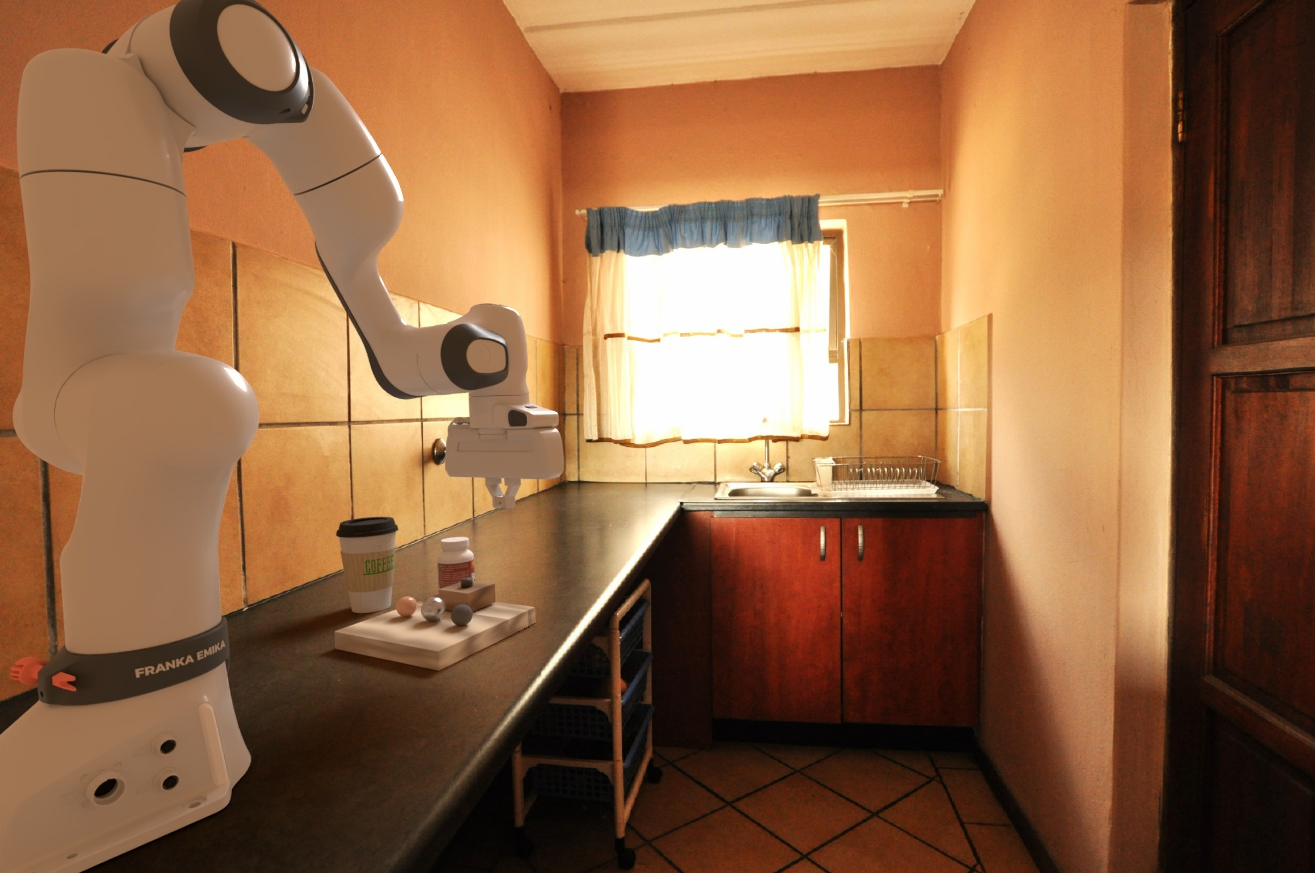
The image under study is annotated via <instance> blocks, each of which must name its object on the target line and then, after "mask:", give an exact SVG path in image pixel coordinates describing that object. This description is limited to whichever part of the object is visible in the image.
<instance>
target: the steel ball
mask: <svg viewBox="0 0 1315 873" xmlns="http://www.w3.org/2000/svg"><path fill="white" fill-rule="evenodd" d="M426 599H427V598H426ZM445 612H446V605H445V602H444V601H443V600H442V599H441V598H438V597H433V596H431V598H430V597H428V599H427V600H425V601H424V603H423V604H422V607H421V614H422V616H423V617H424V618H425V619H426V620H428V621H437V620H439V619H441V618H442V617H443V616H444V614H445Z"/></svg>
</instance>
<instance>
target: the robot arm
mask: <svg viewBox="0 0 1315 873" xmlns="http://www.w3.org/2000/svg"><path fill="white" fill-rule="evenodd" d="M16 116H17V117H16V153H17V154H16V155H17V157H16V158H17V166H18V167H17V168H18V178H19V184H20V185H19V187H20V194H21V203H22V210H23V219H24V229H25V236H26V237H25V238H26V246H27V252H28V253H27V254H28V263H29V276H30V277H29V279H30V280H29V281H30V284H29V285H30V286H29V288H30V289H29V290H30V291H29V306H28V316H27V324H26V332H25V333H26V334H25V342H24V348H23V349H24V352H23V364H22V365H23V366H22V367H23V368H22V381H21V382H22V383H21V388H20V391H19V393H18V396H17V398H16V399H15V403H14V405H13V409H12V423H13V428H14V430H15V432H16V435H17V437H18V439H19V440H20V442H21V443H22V445H23V446H25V447H26V449H27V450H28V451H29V452H31V453H32V454H33V455H35V456H37V457H38V458H39V459H41V460H42V461H44V462H46V463H48V464H49V465H51V466H53V467H55V468H58V469H59V470H62V471H64V472H67V473H70V474H74V475H79V476H82V482H81V488H80V490H81V491H80V495H79V502H78V507H77V511H76V515H75V516H76V517H75V521H74V524H73V528H72V531H71V534H70V537H69V539H68V541H67V542H66V544H65V545H64V547H63V548H62V551H61V552H60V556H59V570H60V572H59V573H60V587H61V601H62V615H63V628H64V629H63V630H64V642H65V644H64V645H63V646H62V647H61V648H60V649H59V650H58V652H57V653H56V654H55V655H54V656H52V657H51V659H49V661H46V660H44V659H40V658H38V657H35V656H26V657H22V658H20V659H18V660H17V661H16V662H14V666H11V667H10V670H11V671H10V672H9V675H10V676H11V677H10V678H11V679H12V680H13V681H15V682H17V683H22V685H26V686H33V685H37V693H38V701H37V702H36V703H34V704H33V705H32V706H31V707H30V708H29V709H28V710H27V711H25V712H24V713H23V714H22V715H21V716H20V717H19V718H18V719H16V720H15V721H14V722H13V723H12V724H11V725H10V726H8V728H6V729H5V730H4V731H3V732H2V733H1V734H0V873H81V872H83V871H86V870H88V869H90V868H92V867H94V866H97V865H99V864H101V863H105V862H106V861H109V860H110V859H113V858H115V857H118V856H120V855H123V854H125V853H127V852H129V851H131V850H134V849H136V848H138V847H140V846H143V845H145V844H148V843H149V842H152V841H154V840H157V839H159V838H161V837H163V836H166V835H168V834H170V833H172V832H175V831H177V830H179V829H182V828H184V827H186V826H188V825H190V824H194V823H195V822H197V821H200V820H202V819H204V818H207V817H209V816H211V815H213V814H216V813H218V812H219V811H221V810H223V809H224V808H225V807H226V806H228V804H229V803H230V801H231V798H232V797H231V796H232V793H233V792H232V789H233V788H234V786H235V785H236V784H237V783H238V782H239V781H240V779H241V778H242V777H243V776H244V775H245V774H246V772H248V769H249V767H250V765H251V762H252V755H251V753H250V751H249V749H248V748H247V745H246V743H245V741H244V738H243V735H242V733H241V730H240V728H239V724H238V719H237V717H236V712H235V708H234V705H233V704H234V703H233V700H232V696H231V689H230V685H229V678H228V676H229V675H228V672H229V670H230V666H231V665H230V662H231V656H230V655H231V653H230V639H229V638H230V637H229V627H228V620H227V617H225V616H223V615H222V602H221V585H220V583H221V582H220V581H221V580H220V560H219V546H220V544H219V541H220V537H219V536H220V529H221V522H222V516H223V513H224V512H223V511H224V508H225V503H226V498H227V495H228V490H229V487H230V483H231V479H232V475H233V473H234V470H235V467H236V465H237V463H238V462H239V460H240V459H241V457H243V455H244V454H245V453H246V452H247V451H248V450H249V448H250V447H251V445H252V444H253V443H254V440H255V439H256V436H257V434H258V430H259V424H260V408H259V407H260V406H259V402H258V399H257V396H256V394H255V391H254V390H253V387H252V386H251V385H250V383H249V382H248V381H247V379H246V378H245V377H244V376H243V375H242V374H241V373H240V372H239V371H238V370H236V369H235V368H234V367H232V366H230V365H229V364H227V363H225V362H223V361H221V360H218V359H215V358H212V357H208V356H205V355H201V354H199V353H194V352H187V351H183V350H179V349H176V344H177V339H178V332H179V328H180V324H181V321H182V320H181V319H182V315H183V313H184V311H185V308H186V306H187V304H188V302H189V301H190V299H191V297H192V295H193V293H194V290H195V284H196V276H195V275H196V274H195V273H196V272H195V264H194V253H193V246H192V237H191V235H192V234H191V227H190V217H189V209H188V207H189V206H188V198H187V191H186V183H185V176H184V170H183V166H182V165H183V159H184V158H183V157H184V154H185V153H191V152H196V151H199V150H202V149H204V148H206V147H208V146H211V145H216V144H219V143H222V142H230V141H231V142H232V141H235V140H238V139H240V138H242V139H244V140H246V141H248V142H249V143H250V144H252V145H253V146H255V147H256V148H257V149H258V150H260V151H261V152H262V153H263V154H264V155H265V156H266V157H267V158H268V159H269V161H270V162H271V163H272V164H273V166H274V168H275V169H276V171H277V173H278V174H279V176H280V178H281V180H282V181H283V183H284V184H285V186H286V188H287V189H288V191H289V192H290V194H292V197H293V199H295V201H296V203H297V204H298V206H299V208H300V209H301V211H302V213H303V215H304V217H305V219H306V221H307V222H308V224H309V227H310V230H311V231H312V235H313V237H314V248H315V253H316V256H317V259H318V261H319V263H320V266H321V269H322V270H323V272H324V274H325V275H326V278H327V280H328V282H329V284H330V286H331V287H332V289H333V291H334V293H335V294H336V296H337V299H338V300H339V302H340V304H341V306H342V308H343V309H344V311H345V313H346V315H347V316H348V318H349V320H350V322H351V324H352V326H353V327H354V329H355V331H356V332H357V335H358V336H359V338H360V340H361V342H362V346H364V349H365V352H366V356H367V359H368V364H369V366H370V369H371V372H372V375H373V376H374V379H375V381H376V383H377V384H378V386H380V387H381V389H382V390H383V391H385V393H387V394H388V395H390V396H391V397H393V398H396V399H398V400H405V401H406V400H414V399H419V398H424V397H431V396H446V395H456V394H458V395H459V394H468V413H469V414H468V415H469V416H467V417H464V416H458V417H455V418H454V419H453V420H452V421H450V423H449V424H448V426H447V436H446V442H445V451H444V452H445V454H444V470H445V472H446V474H447V475H448V477H449V478H478V479H483V478H484V482H485V483H484V484H485V487H486V489H487V491H488V493H489V495H490V496H491V499H492V500H491V501H492V507H493V508H494V509H506V510H510V509H514V508H515V507H516V496H517V494H518V492H519V489H520V487H521V485H522V480H553V479H557V478H560V476H561V475H562V474H563V472H564V469H565V466H564V465H565V458H564V447H563V440H562V436H561V433H560V432H559V430H558V429H557V428H556V427H557V426H558V425H559V421H560V416H559V413H558V412H556V411H554V410H551V409H549V408H546V407H543V406H541V405H538V404H535V403H532V402H530V391H529V388H528V385H527V372H528V368H529V360H528V359H529V358H528V356H529V354H528V345H527V337H526V330H525V325H524V322H523V318H522V317H521V315H520V313H519V312H518V311H517V310H515V309H514V308H511V307H509V306H507V305H504V304H494V303H479V304H474V305H473V306H471V307H470V308H469V311H468V312H467V313H465V314H464V315H462V316H460V317H458V318H456V319H454V320H451V321H448V322H447V323H441V324H435V325H431V326H422V327H415V326H413V325H412V324H409V323H408V322H406V321H405V320H404V319H403V318H402V317H401V315H400V313H399V311H398V309H397V306H396V305H395V303H394V301H393V299H392V297H391V295H390V292H389V291H388V288H387V287H386V285H385V283H384V281H383V279H382V276H381V274H380V272H379V268H378V267H379V266H378V259H379V255H380V253H381V250H383V249H384V248H385V246H386V245H387V244H388V243H389V242H390V241H391V239H392V238H393V237H394V236H395V235H396V233H397V231H398V229H399V227H400V225H401V223H402V220H403V215H404V209H405V208H404V207H405V199H404V197H403V195H404V194H403V192H402V189H401V186H400V183H399V181H398V178H397V177H396V175H395V173H394V172H393V169H392V168H391V166H390V165H389V162H388V161H387V159H386V157H385V156H384V154H383V153H382V150H381V149H380V147H379V145H378V144H377V142H376V141H375V139H374V138H373V137H374V136H372V134H371V133H370V131H369V129H368V128H367V126H366V125H365V124H364V122H363V121H362V119H361V117H360V116H359V115H358V113H357V112H356V111H355V109H354V108H353V107H352V104H350V102H349V101H348V100H347V99H346V97H345V96H344V94H343V93H342V92H341V91H340V90H339V89H338V87H337V86H336V85H335V83H334V82H333V81H332V79H330V78H329V76H327V75H326V74H325V73H324V72H323V71H320V70H319V69H317V68H316V67H313V66H309V63H308V61H307V60H306V57H305V56H304V54H303V53H302V51H301V49H300V48H299V45H298V44H297V43H296V41H295V39H294V38H293V36H292V35H291V34H290V32H289V31H288V30H287V28H286V27H285V26H284V25H283V24H282V23H281V22H280V21H279V20H278V19H277V18H276V16H274V14H272V13H271V12H270V11H269V10H268V8H265V7H264V6H263V5H262V4H261V3H259V2H257V1H256V0H179V1H178V2H177V3H176V4H173V5H170V6H168V7H166V8H163V9H161V10H159V11H158V12H157V11H156V12H154V13H150V14H147V15H145V16H144V17H143V18H141V19H140V20H138V21H137V22H136V23H134V24H133V25H132V26H131V27H130V28H128V29H127V30H126V31H125V32H124V33H123V34H122V35H121V36H120V37H118V38H116V39H113V40H112V41H111V42H110V43H108V44H107V45H106V46H105V47H104V48H103V49H102V51H101V52H99V51H95V50H91V49H86V48H76V47H62V48H53V49H49V50H45V51H42V52H40V53H38V54H36V55H35V56H33V57H32V58H31V59H30V60H29V61H28V62H27V64H26V65H25V67H24V69H23V72H22V74H21V81H20V87H19V94H18V104H17V113H16ZM502 479H504V486H505V487H506V490H505V492H504V493H503V491H502V488H501V486H500V485H501V484H502V483H503V482H502V481H503V480H502Z"/></svg>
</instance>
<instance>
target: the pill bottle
mask: <svg viewBox="0 0 1315 873" xmlns="http://www.w3.org/2000/svg"><path fill="white" fill-rule="evenodd" d="M469 546H470V539H469V537H466V536H455V537H454V536H453V537H447V538H443V539H441V540H440V549H441V550H442V552H440V553H439V554H438V556H437V557H436V564H437V565H436V567H437V569H436V570H437V588H438V589H437V591H438V590H439V589H442V588H444V587H447V586H450V585H453V584H456V583H459V582H461V579H462V578H467V577H470V578H473V581H476V572H475V568H476V567H475V556H474V553H473V552H472V550H470V549H468V548H469Z"/></svg>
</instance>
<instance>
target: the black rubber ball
mask: <svg viewBox="0 0 1315 873" xmlns="http://www.w3.org/2000/svg"><path fill="white" fill-rule="evenodd" d="M472 616H473V613H472V610H471V608H470V607H469V606H467V605H464V604H461V605H458V606H456V607H455V608H454V609H453V610H452V612H451V620H452V622H453V623H454V624H455V625H458V626H464V625H467V624H468V623H469V622H470V621H471V619H472Z"/></svg>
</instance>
